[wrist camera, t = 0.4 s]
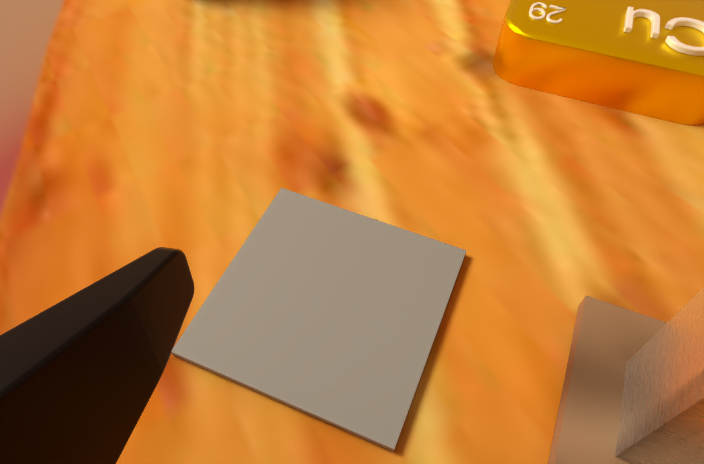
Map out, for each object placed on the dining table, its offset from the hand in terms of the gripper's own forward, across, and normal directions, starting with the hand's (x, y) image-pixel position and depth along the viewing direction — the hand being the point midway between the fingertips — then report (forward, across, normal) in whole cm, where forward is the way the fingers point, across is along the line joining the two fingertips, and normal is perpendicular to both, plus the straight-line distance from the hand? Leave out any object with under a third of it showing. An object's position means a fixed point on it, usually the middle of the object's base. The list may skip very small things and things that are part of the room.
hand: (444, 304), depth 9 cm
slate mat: (+12, +6, +13) cm, 19 cm away
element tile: (+38, -9, +9) cm, 40 cm away
